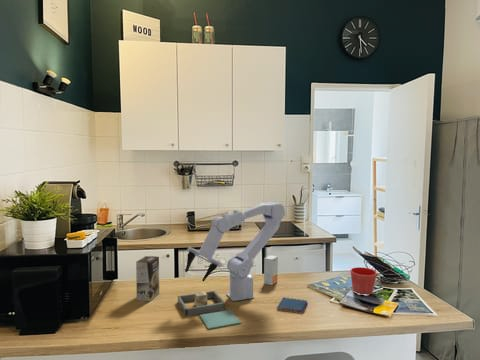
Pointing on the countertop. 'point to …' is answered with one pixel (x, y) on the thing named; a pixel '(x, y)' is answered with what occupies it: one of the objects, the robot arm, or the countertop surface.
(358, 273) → the flower pot
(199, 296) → the maple block
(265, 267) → the skincare box
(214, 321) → the teal board
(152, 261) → the coffee box
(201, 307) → the gray rectangular frame
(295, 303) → the dark blue flat block
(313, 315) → the countertop surface
